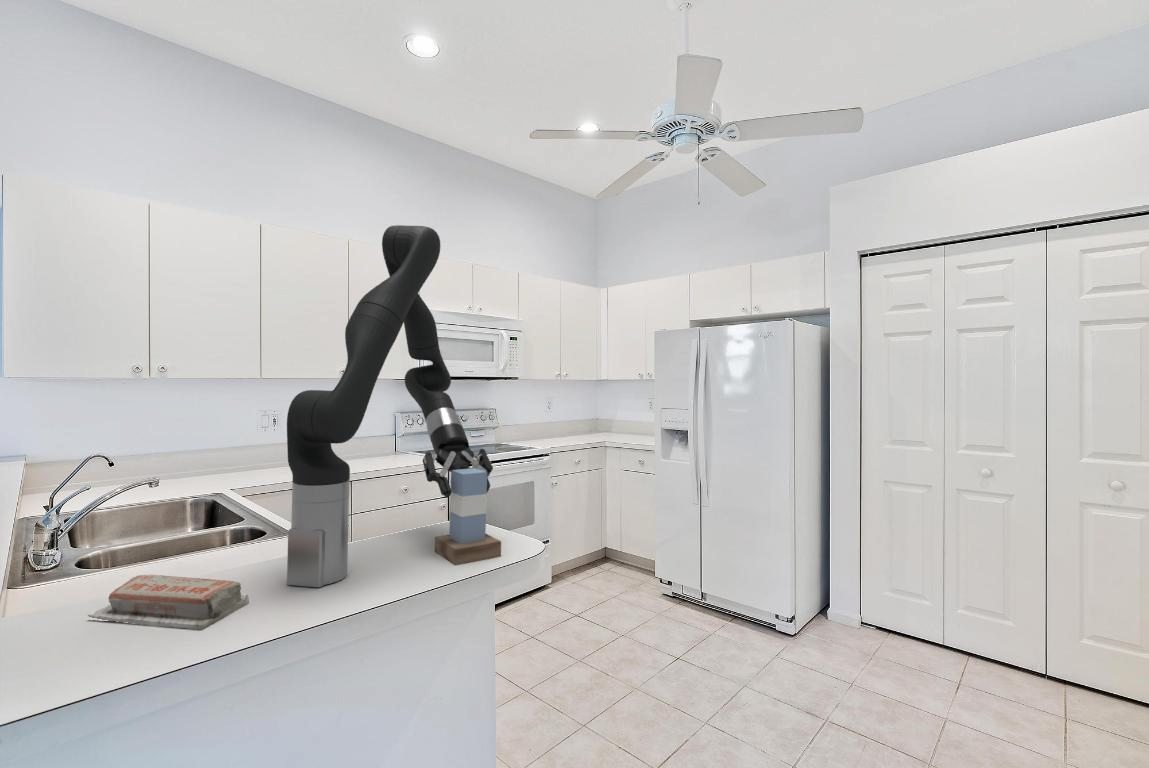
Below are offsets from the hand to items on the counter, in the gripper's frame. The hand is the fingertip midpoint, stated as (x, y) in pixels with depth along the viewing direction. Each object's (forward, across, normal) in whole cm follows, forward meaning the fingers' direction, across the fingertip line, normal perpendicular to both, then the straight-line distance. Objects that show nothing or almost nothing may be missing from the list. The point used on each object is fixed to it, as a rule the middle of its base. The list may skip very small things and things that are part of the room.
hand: (468, 493), depth 112 cm
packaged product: (+10, -49, +8) cm, 51 cm away
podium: (+9, 0, +8) cm, 12 cm away
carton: (+7, 0, +6) cm, 9 cm away
